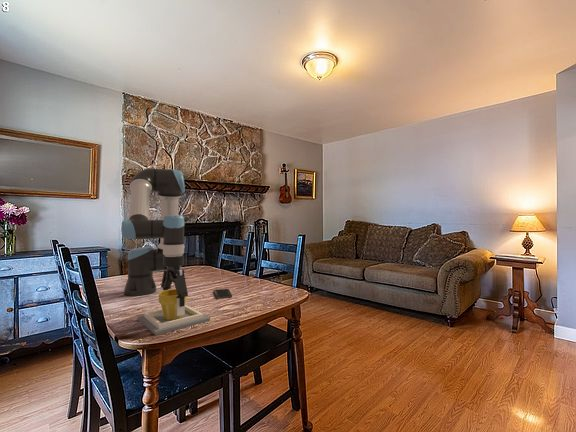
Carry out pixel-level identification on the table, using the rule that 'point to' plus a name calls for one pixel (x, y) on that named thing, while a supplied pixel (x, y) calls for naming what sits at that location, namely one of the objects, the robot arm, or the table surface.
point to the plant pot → (169, 304)
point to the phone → (222, 293)
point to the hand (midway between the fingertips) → (173, 310)
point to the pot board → (161, 325)
